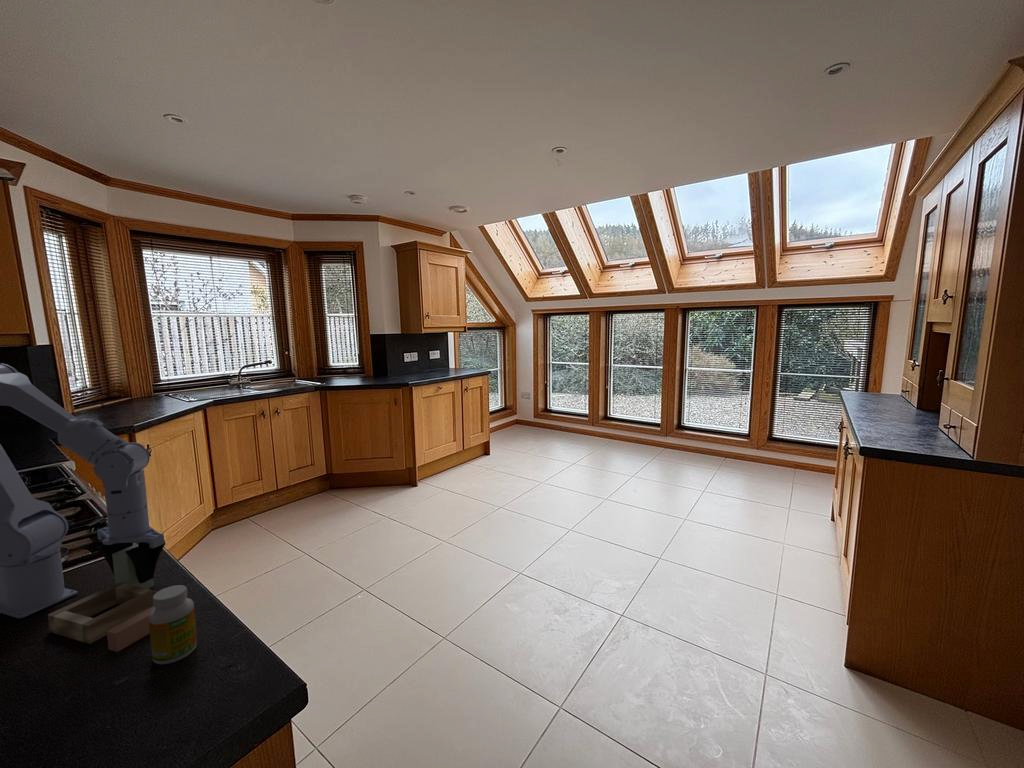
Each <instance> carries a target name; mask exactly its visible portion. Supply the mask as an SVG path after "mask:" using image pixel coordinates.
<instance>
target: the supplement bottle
mask: <svg viewBox="0 0 1024 768" xmlns="http://www.w3.org/2000/svg"><path fill="white" fill-rule="evenodd" d="M153 605H154V607H155V608H154V609H153V610H152V611H151V612H150V614H149V628H150V633H149V637H150V646H151V647H150V648H151V658H152V661H153V663H155V664H157V665H169V664H172V663H175V662H176V663H177V662H178V661H180V660H182V659H185V658H187V657H188V656H189V655H190V654H192V652H194V651H195V649H196V648H197V645H198V638H197V626H196V614H195V604H194V601H193V600H192V599H191V598H190V597H188V589H187V587H186V586H185V585H182V584H179V585H178V584H177V585H171V586H168V587H165V588H162V589H160V590H157V593H156V594H154V596H153Z"/></svg>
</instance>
